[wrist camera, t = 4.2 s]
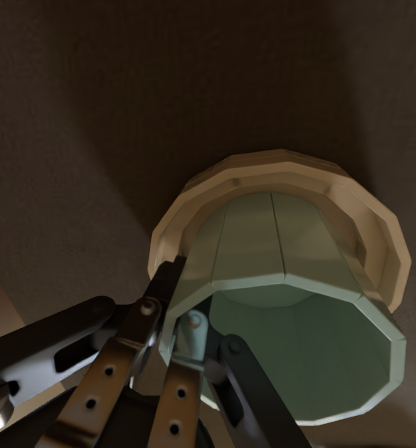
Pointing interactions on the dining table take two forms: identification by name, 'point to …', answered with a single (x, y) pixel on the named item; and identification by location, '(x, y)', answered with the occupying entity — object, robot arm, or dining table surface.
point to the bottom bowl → (303, 188)
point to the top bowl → (292, 306)
